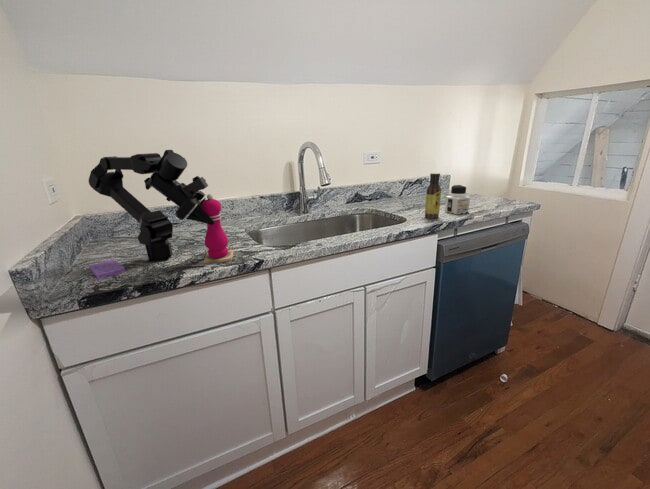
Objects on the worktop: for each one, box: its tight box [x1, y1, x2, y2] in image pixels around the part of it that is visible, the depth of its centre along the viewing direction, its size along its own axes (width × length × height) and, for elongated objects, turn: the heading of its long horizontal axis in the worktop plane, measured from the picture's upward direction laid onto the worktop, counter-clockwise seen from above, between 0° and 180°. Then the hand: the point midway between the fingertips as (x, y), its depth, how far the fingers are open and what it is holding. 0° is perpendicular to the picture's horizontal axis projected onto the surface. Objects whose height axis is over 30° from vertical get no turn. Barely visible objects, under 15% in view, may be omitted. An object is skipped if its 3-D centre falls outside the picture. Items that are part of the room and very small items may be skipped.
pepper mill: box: [201, 193, 229, 258], centre depth 98 cm, size 7×7×20 cm
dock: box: [203, 249, 234, 264], centre depth 101 cm, size 8×8×1 cm
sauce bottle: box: [424, 172, 442, 219], centre depth 139 cm, size 6×6×20 cm
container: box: [444, 184, 471, 215], centre depth 148 cm, size 8×8×13 cm
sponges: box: [88, 258, 126, 280], centre depth 95 cm, size 7×13×2 cm, turn 46°
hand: (214, 221), depth 98 cm, fingers open, 5 cm apart
